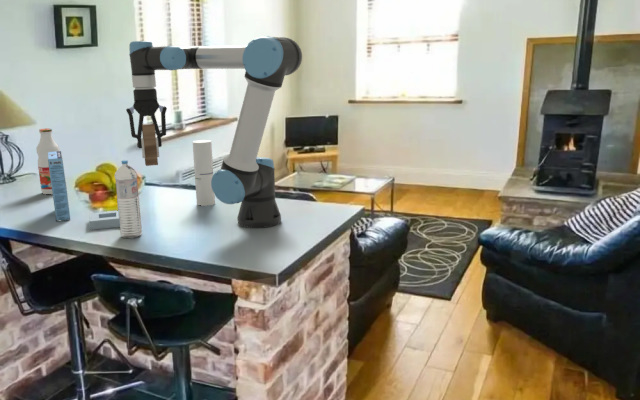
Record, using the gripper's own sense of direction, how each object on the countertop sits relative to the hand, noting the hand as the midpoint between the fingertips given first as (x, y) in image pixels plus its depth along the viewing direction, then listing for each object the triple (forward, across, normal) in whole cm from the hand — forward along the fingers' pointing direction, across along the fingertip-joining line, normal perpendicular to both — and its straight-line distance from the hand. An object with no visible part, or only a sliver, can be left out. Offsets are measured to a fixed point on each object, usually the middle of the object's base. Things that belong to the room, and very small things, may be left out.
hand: (150, 156), depth 209 cm
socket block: (+23, +16, -5) cm, 29 cm away
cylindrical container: (+24, -21, -20) cm, 37 cm away
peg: (+3, 0, 0) cm, 3 cm away
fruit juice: (+23, +38, -69) cm, 82 cm away
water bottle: (+24, +9, +14) cm, 29 cm away
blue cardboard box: (+23, +32, -25) cm, 47 cm away
